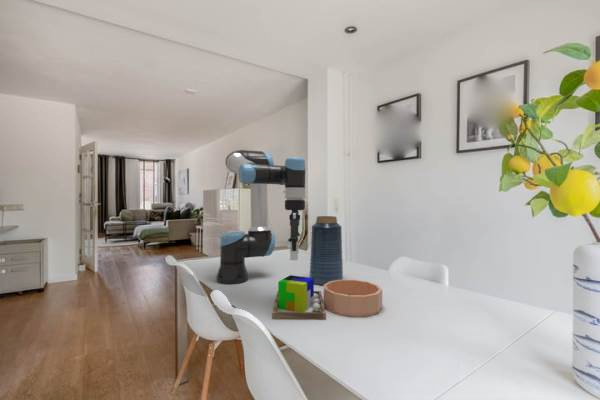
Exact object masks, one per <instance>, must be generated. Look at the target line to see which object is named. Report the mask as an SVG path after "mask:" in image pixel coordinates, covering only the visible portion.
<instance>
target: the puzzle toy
mask: <svg viewBox="0 0 600 400" xmlns="http://www.w3.org/2000/svg"><path fill="white" fill-rule="evenodd" d="M309 277H310V276H309ZM309 277H308V276H298V275H291V274H290V275H288V276H286V277H284V278H283V279H281V280H279V281H278V282H277V283H278V285H277V286H278V290H277V292H278V308H277V310H278V309H279V310H284V311H288V312H307V310H308V309H310V308H312V306H313V304H312V301H313V299H314V291H315V288H314V287H315V284H314V278H309Z"/></svg>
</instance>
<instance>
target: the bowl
mask: <svg viewBox="0 0 600 400" xmlns="http://www.w3.org/2000/svg"><path fill="white" fill-rule="evenodd" d="M323 302H324V307H325V310H327V311H329V312H330V313H333V314H336V315H339V316H344V317H350V318H351V317H353V318H354V317H355V318H362V317H371V316H374V315H377V314H378V313H380V312H381V310H382V307H383V289H382V287H381V286H380V285H378V284H375V283H373V282H370V281H367V280H358V279H343V280H335V281H329V282H328V283H326V284H324V285H323Z"/></svg>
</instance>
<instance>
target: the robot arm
mask: <svg viewBox="0 0 600 400" xmlns="http://www.w3.org/2000/svg"><path fill="white" fill-rule="evenodd" d="M225 166H226V169H227V170H229V171H230V172H232V173H234V174H237V175H238V177H237V178H238V180H239V182H240V183H241V184H248V185H250V228H248V230H247V233H246V232H245V231H242V230H241V231H231V232H227V233H224V234H221V237H220V242H219V243H220V244H219V247H220V259H219V263H220V265H219V268H218V271H217V273H216V274H217V275H216V282H217V283H219V284H222V285H236V284H241V283H245V282H247V281H248V280H249V274H248V271H247V266H246V264H245V262H246V261H245V260H246V259H245V258H247V259H248V258H258V257H262V258H263V257H268V256H271V255H273V252H274V250H275V247H276V246H275V245H276V238H275V237H276V236H275V234H274V233H273V232H272V229H271V228H270V227H269V221H268V220H269V217H268V215H269V214H268V185H279V186H284V188H285V190H283V193H285V194H284V198H285V201H284V209H285V211H291V213H290V214H289V226H290V237H289V238H288V239H287V240H288V242H289V245H290V248H289V255H290V256H289V260H290V261H298V260H299V253H300V252H299V249H300V248H299V243H300V241H299V238H300V237H301V232H299V226H300V220H301V214H300V213H299V211H304V210H305V209H306V201H305V198H306V170H307V169H306V160H305V159H304V158H303V157H297V156H295V157H286V159H285V161H284V165H276V164H274V159H273V156H272V154H271V153H269V152H268V151H262V150H261V151H260V150H259V151H258V150H244V149H240V150H234V151H232V152H230V153H229V154H228V155H227V156H226V158H225Z"/></svg>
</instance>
